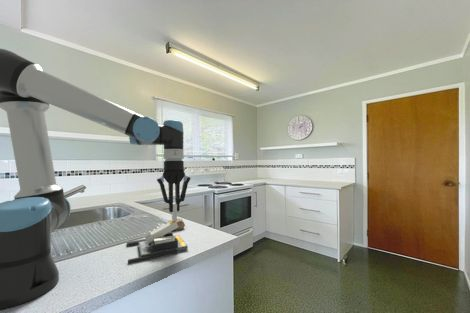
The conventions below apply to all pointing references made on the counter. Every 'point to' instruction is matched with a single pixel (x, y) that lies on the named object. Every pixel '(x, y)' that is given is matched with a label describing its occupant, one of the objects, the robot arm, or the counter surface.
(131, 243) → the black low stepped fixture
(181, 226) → the stone
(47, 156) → the robot arm
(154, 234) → the breaker lever
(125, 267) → the counter surface
